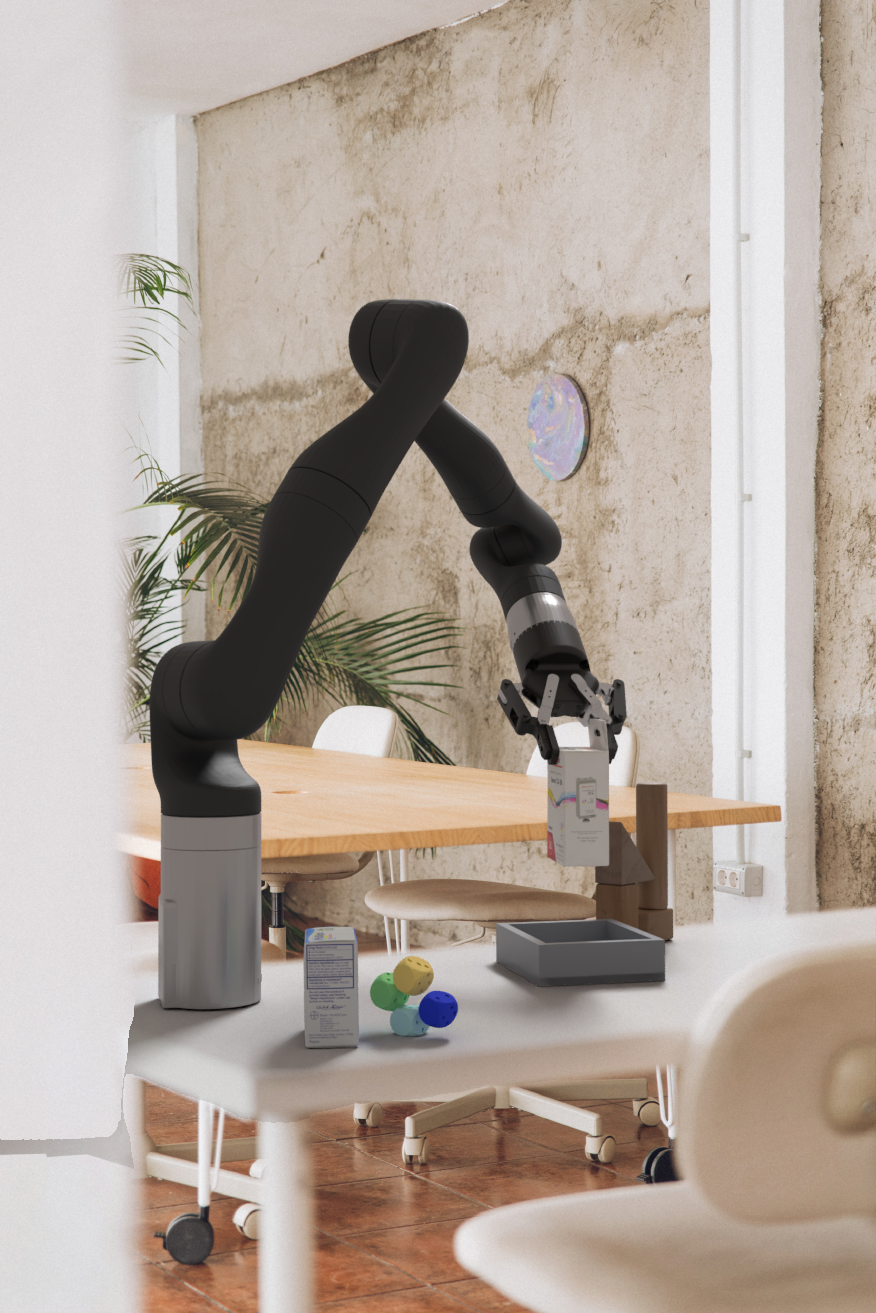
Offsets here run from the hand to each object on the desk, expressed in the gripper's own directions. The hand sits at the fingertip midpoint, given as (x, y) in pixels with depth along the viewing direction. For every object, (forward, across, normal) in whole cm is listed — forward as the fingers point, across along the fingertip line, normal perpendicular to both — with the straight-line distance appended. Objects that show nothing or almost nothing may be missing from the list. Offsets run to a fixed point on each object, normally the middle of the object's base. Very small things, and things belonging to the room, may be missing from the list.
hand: (582, 758), depth 162 cm
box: (+14, 0, +16) cm, 22 cm away
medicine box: (+32, -30, -1) cm, 44 cm away
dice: (+32, -23, -1) cm, 39 cm away
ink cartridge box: (+6, 0, +9) cm, 11 cm away
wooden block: (+4, +12, +27) cm, 30 cm away
